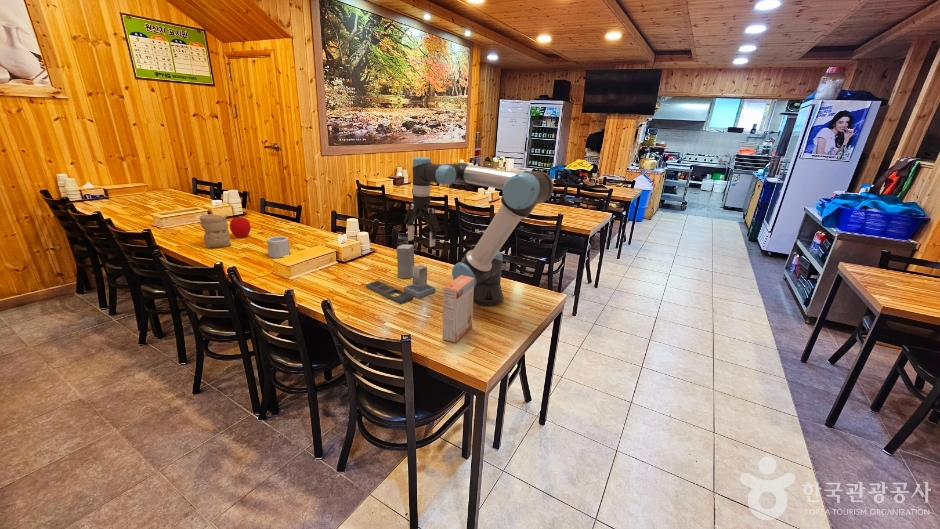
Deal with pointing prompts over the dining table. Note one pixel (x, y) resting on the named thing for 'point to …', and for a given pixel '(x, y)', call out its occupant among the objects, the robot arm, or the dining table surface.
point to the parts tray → (429, 291)
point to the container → (215, 230)
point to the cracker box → (457, 308)
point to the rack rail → (389, 292)
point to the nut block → (419, 278)
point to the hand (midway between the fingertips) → (421, 242)
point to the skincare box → (405, 261)
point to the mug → (278, 246)
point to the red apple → (240, 227)
